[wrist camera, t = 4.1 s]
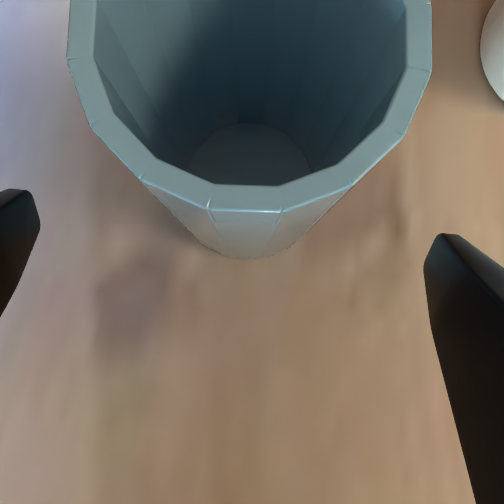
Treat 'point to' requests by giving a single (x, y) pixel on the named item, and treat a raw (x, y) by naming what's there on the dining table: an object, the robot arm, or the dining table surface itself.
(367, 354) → the dining table surface
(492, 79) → the milk bottle
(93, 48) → the tumbler
